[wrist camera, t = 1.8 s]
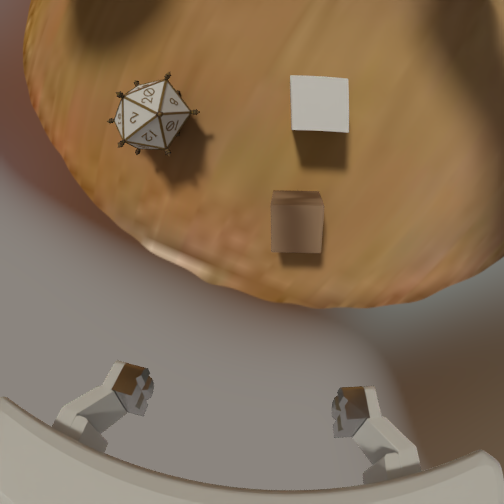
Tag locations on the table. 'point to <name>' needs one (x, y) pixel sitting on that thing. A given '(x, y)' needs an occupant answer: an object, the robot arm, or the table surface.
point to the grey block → (319, 103)
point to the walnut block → (296, 221)
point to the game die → (151, 115)
